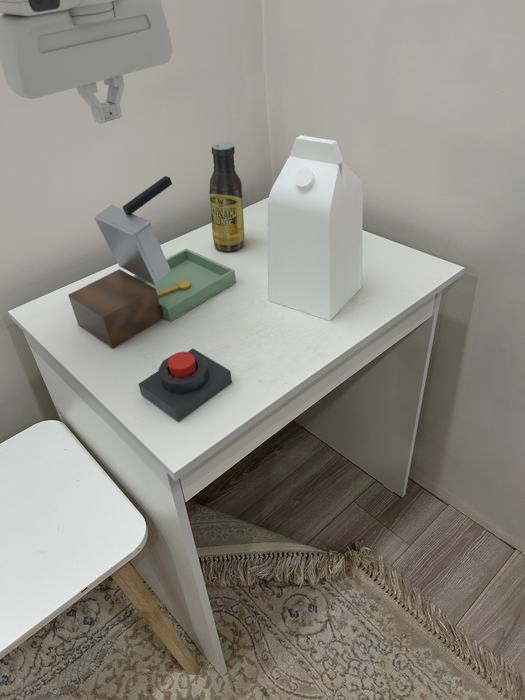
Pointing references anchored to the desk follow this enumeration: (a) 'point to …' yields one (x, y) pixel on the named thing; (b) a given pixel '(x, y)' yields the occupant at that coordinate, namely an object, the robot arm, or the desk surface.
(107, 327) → the stand
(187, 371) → the bell button
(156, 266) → the grey dustpan
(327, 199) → the milk
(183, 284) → the tan wooden spoon shape
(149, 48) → the robot arm
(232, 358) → the desk surface
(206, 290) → the tray
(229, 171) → the sauce bottle
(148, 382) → the grey button base
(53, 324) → the desk surface
